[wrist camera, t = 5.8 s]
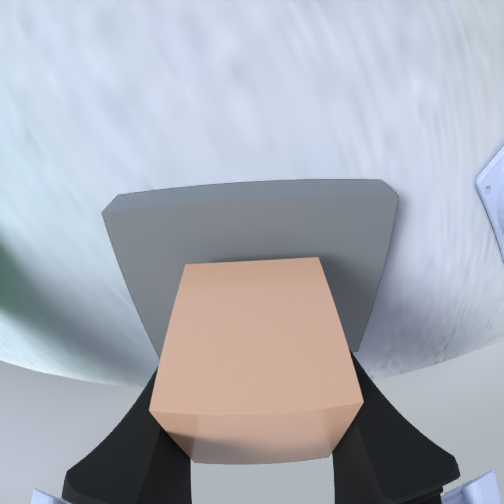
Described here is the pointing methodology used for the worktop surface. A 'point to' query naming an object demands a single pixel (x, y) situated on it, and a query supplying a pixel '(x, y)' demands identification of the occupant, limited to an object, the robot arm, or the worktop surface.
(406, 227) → the worktop surface
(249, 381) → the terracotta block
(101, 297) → the worktop surface
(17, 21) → the worktop surface
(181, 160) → the worktop surface
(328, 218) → the charcoal base
